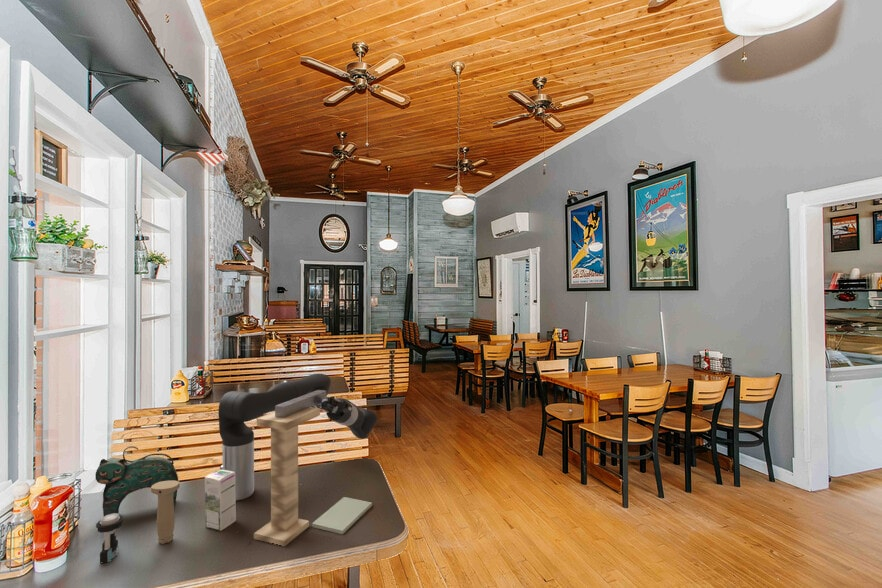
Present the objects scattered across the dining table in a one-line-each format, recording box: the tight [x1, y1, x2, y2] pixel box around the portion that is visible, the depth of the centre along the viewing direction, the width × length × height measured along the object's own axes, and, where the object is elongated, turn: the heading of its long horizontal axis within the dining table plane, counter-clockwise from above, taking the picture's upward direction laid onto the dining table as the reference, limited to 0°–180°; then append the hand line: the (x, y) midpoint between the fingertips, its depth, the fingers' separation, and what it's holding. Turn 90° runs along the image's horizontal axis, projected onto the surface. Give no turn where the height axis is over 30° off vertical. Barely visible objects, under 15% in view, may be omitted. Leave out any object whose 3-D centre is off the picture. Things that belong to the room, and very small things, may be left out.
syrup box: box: [204, 468, 237, 531], centre depth 119 cm, size 6×6×14 cm
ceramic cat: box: [94, 445, 179, 517], centre depth 126 cm, size 20×6×20 cm, turn 123°
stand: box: [253, 407, 321, 548], centre depth 117 cm, size 10×15×32 cm, turn 160°
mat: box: [311, 496, 373, 535], centre depth 123 cm, size 10×16×1 cm, turn 160°
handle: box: [150, 480, 181, 545], centre depth 111 cm, size 5×6×15 cm
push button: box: [95, 513, 124, 564], centre depth 105 cm, size 7×5×10 cm
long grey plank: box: [274, 390, 327, 418], centre depth 123 cm, size 3×19×3 cm, turn 160°
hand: (317, 398), depth 129 cm, fingers open, 8 cm apart
